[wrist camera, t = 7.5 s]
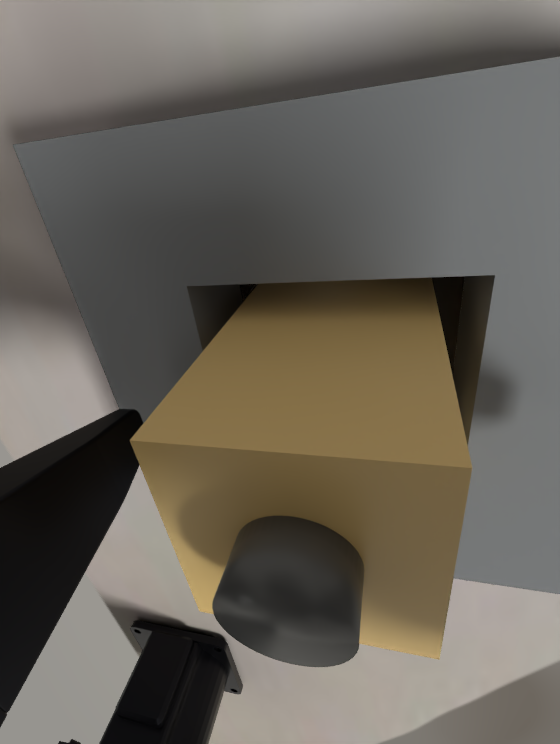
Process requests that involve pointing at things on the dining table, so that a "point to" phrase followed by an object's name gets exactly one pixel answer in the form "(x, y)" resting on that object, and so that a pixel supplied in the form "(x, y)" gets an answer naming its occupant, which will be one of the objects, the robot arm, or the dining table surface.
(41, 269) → the dining table surface
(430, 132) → the socket
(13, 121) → the dining table surface
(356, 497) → the plug
